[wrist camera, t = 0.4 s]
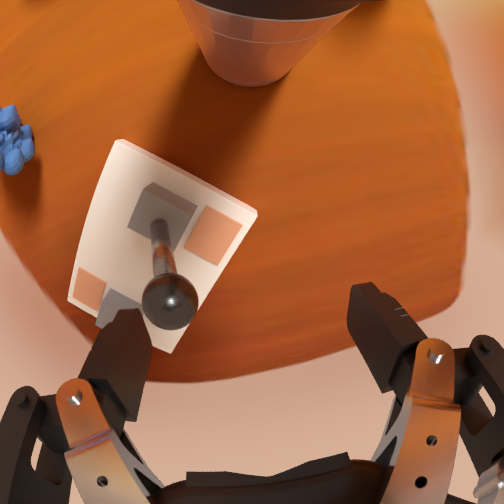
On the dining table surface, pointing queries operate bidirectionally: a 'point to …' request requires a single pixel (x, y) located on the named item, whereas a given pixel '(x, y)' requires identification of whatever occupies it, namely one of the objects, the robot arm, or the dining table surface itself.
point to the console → (138, 235)
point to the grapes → (14, 141)
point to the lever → (167, 285)
